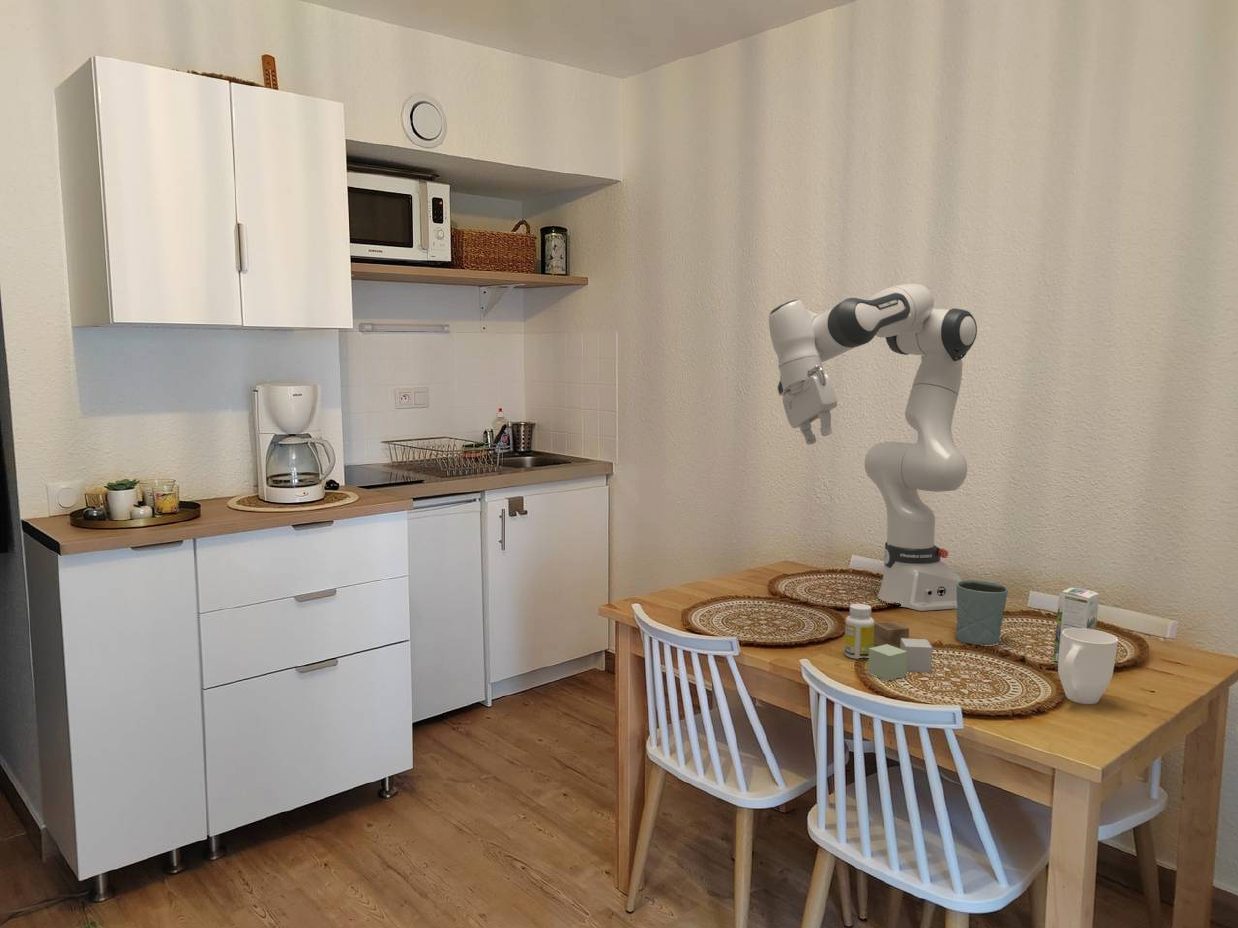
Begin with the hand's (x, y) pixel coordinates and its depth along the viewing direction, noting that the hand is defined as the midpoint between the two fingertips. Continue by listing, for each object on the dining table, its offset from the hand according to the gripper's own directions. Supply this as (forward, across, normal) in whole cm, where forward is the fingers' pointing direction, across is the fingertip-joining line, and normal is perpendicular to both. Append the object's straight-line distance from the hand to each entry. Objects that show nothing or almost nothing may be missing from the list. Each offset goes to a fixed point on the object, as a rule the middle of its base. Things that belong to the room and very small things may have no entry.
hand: (819, 439), depth 188 cm
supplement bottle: (+45, +2, +3) cm, 45 cm away
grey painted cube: (+48, -6, -5) cm, 49 cm away
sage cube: (+48, -9, +2) cm, 49 cm away
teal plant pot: (+49, +8, -27) cm, 56 cm away
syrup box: (+55, -6, -37) cm, 67 cm away
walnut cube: (+45, +5, -6) cm, 46 cm away
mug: (+58, -24, -25) cm, 68 cm away
